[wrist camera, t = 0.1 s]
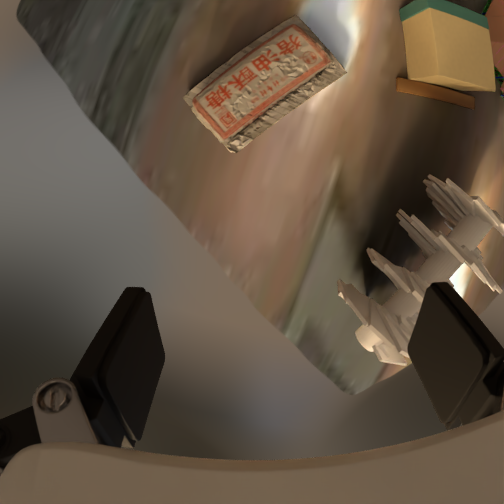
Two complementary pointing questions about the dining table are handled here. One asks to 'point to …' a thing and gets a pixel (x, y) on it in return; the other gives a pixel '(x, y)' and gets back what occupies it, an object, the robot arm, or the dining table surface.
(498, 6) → the house
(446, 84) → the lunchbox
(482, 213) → the spiral staircase
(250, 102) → the packaged product
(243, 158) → the dining table surface
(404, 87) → the oak strip
